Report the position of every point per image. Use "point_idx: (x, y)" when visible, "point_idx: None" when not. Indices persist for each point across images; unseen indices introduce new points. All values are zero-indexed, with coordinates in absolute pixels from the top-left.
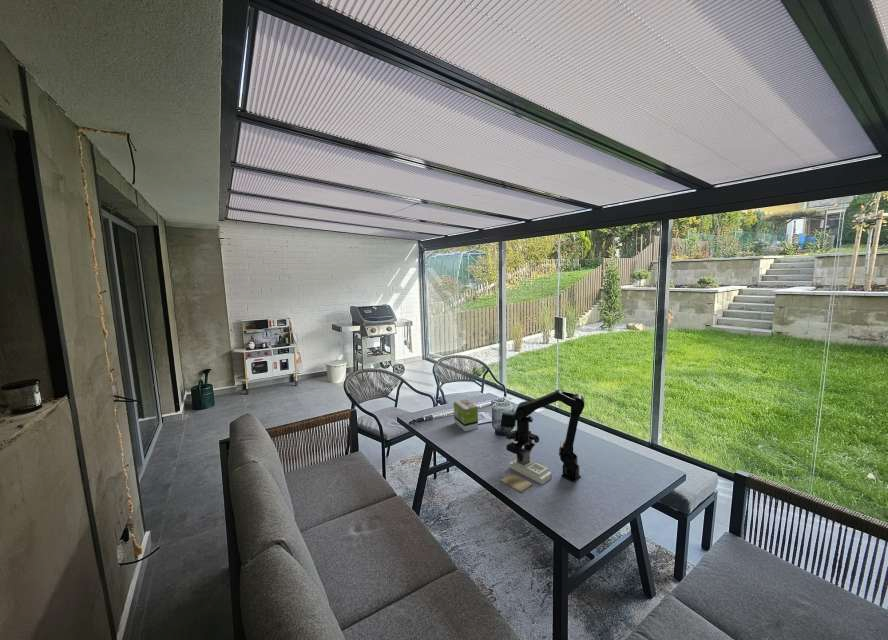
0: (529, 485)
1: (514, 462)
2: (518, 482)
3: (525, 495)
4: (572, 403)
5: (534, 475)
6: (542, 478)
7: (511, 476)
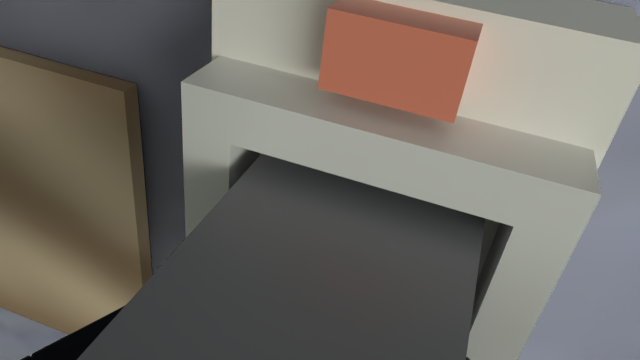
0: None
1: (188, 129)
2: (49, 242)
3: (5, 324)
4: None
5: None
6: None
7: (60, 125)
